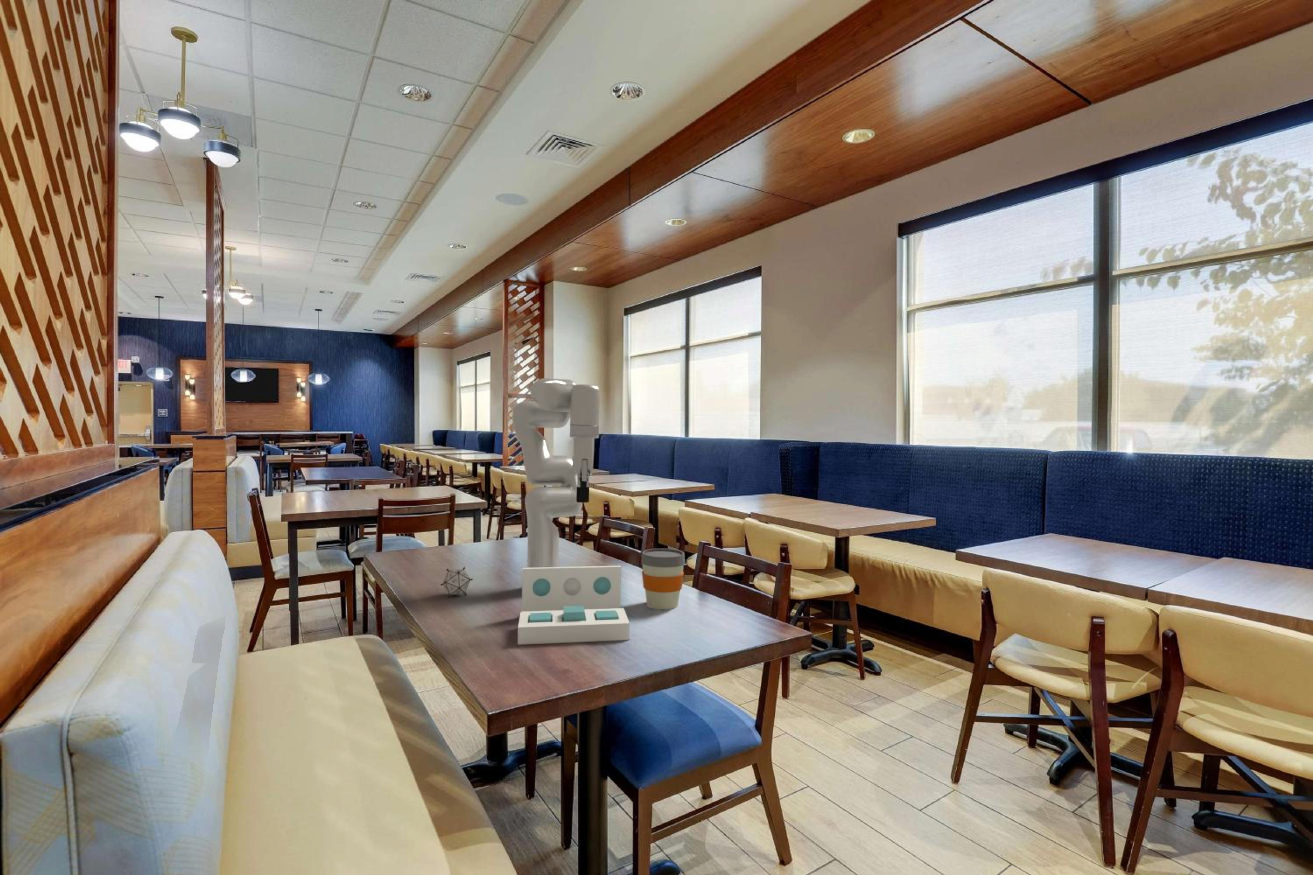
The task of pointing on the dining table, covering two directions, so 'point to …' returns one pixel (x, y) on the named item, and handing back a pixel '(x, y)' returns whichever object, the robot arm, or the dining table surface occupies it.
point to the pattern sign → (571, 587)
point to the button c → (606, 615)
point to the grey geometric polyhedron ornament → (456, 582)
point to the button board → (572, 628)
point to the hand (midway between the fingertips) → (582, 501)
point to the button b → (573, 613)
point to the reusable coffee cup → (662, 577)
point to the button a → (540, 617)
